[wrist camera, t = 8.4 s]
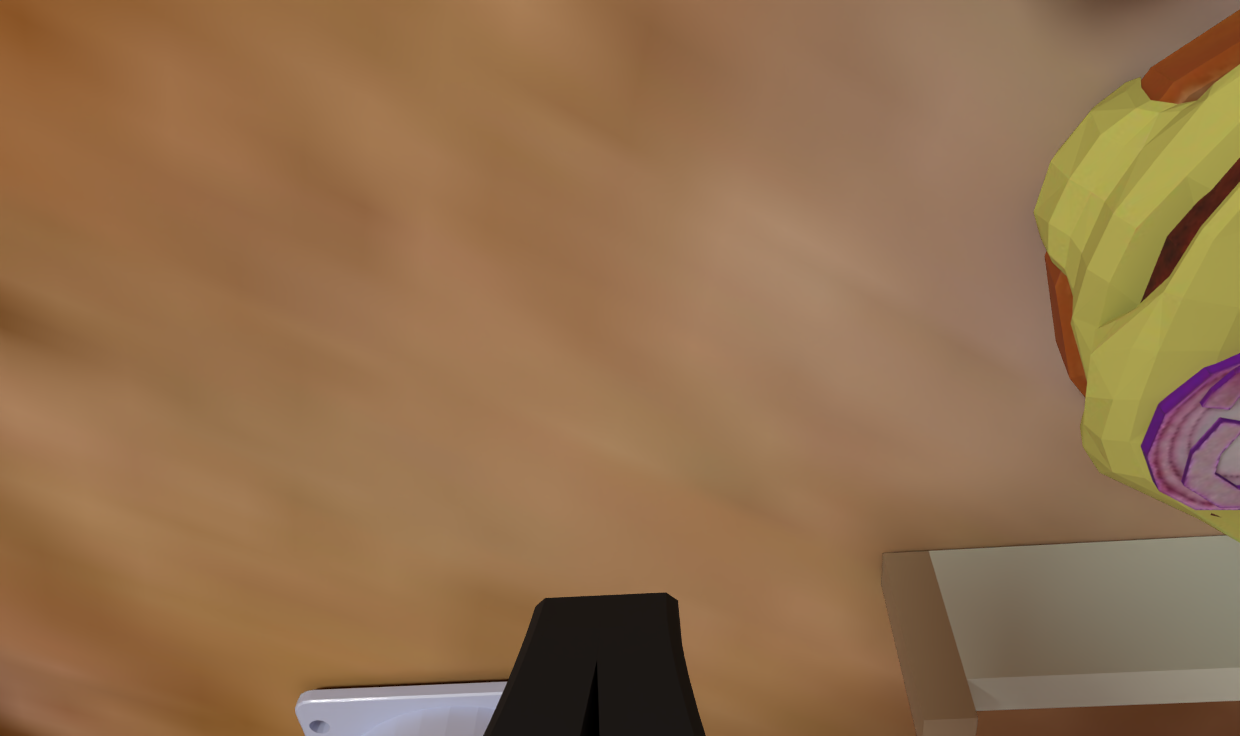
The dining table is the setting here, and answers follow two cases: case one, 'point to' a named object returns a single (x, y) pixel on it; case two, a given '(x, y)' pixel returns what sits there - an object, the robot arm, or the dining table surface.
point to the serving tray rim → (1064, 626)
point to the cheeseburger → (1156, 277)
